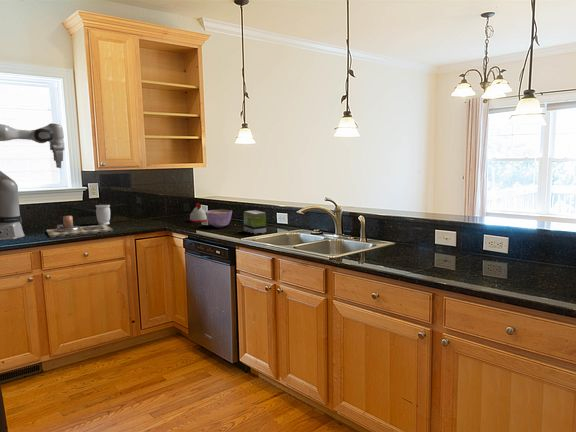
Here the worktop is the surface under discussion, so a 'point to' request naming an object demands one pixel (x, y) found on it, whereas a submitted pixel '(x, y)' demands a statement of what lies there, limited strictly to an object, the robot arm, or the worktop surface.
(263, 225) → the tea box
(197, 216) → the kitchen timer
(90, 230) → the board
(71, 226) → the pinkish brown cylinder
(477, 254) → the worktop surface
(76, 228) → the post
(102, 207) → the jar
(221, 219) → the purple rounded bowl
